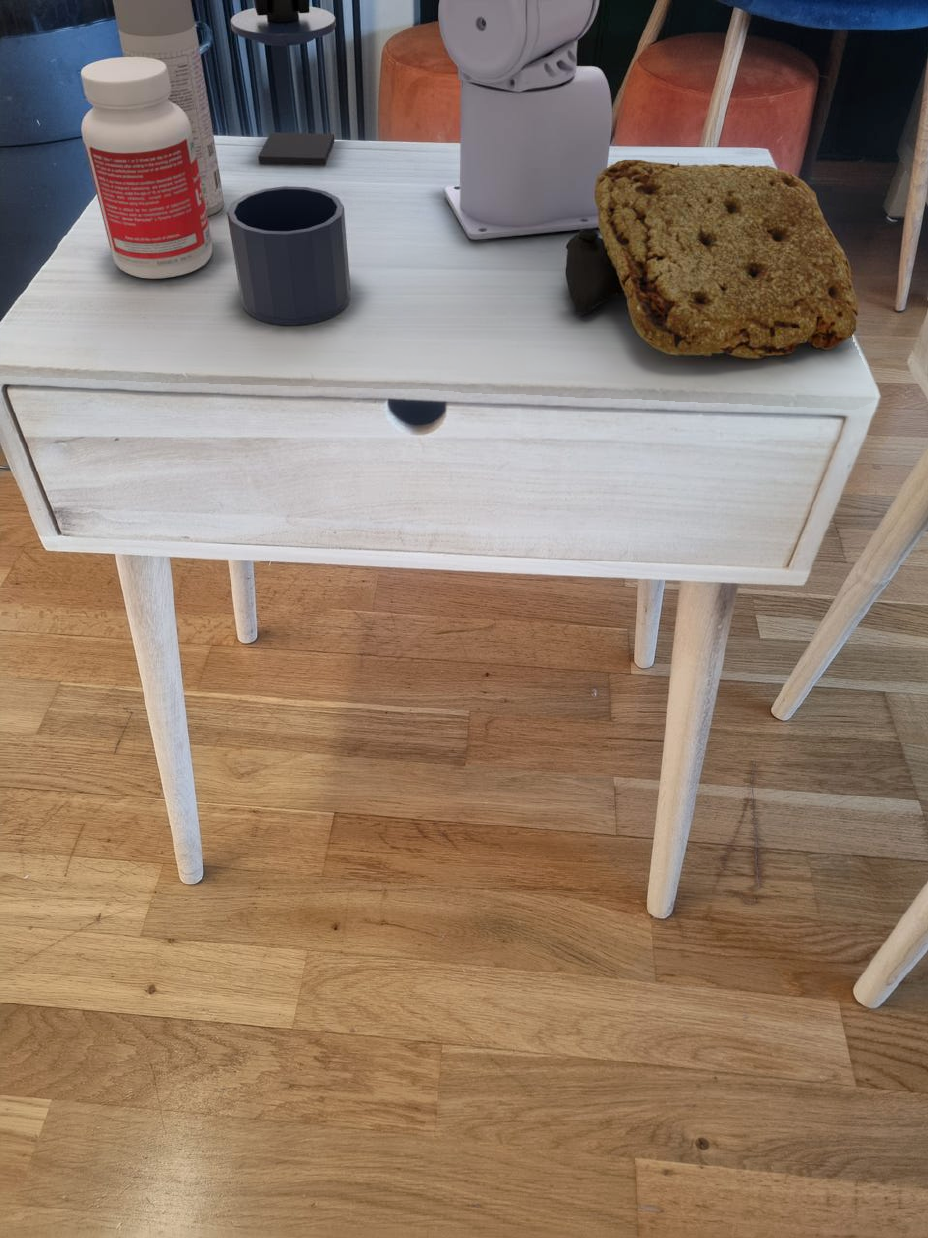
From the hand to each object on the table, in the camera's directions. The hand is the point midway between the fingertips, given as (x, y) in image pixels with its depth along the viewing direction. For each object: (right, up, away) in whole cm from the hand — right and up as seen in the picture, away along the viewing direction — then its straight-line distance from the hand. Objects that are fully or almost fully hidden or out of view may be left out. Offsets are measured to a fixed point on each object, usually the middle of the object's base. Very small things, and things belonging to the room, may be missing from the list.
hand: (282, 10), depth 68 cm
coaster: (0, -6, +8) cm, 10 cm away
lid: (0, -1, +1) cm, 1 cm away
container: (-6, -13, +1) cm, 15 cm away
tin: (+2, -23, -9) cm, 24 cm away
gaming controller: (+23, -22, -8) cm, 33 cm away
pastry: (+27, -21, -10) cm, 36 cm away
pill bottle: (-6, -19, -5) cm, 21 cm away
